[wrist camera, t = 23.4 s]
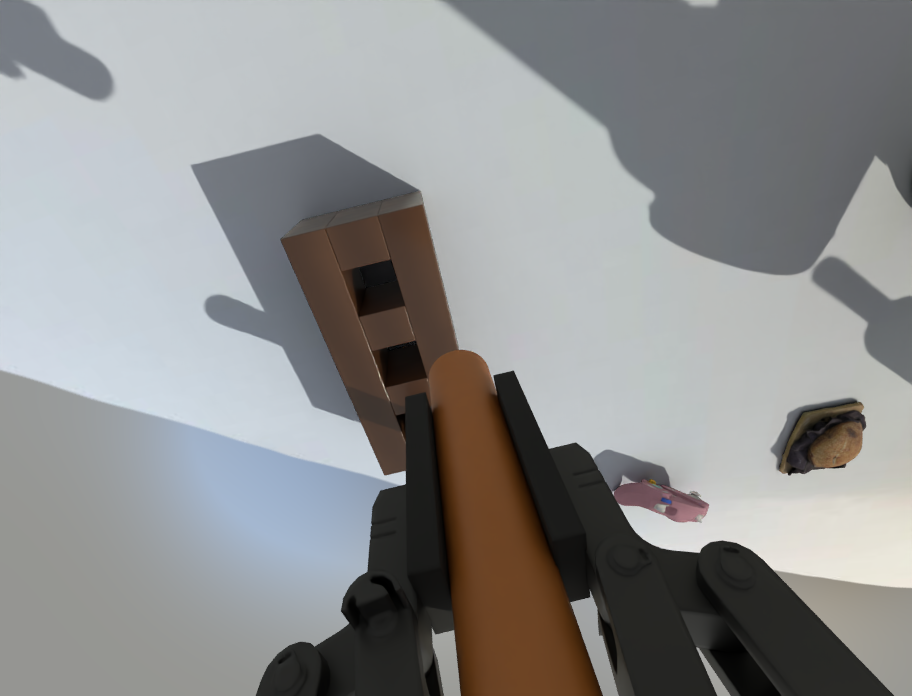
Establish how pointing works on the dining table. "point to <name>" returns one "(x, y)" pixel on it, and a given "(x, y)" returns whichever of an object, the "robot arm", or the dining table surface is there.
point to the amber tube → (498, 550)
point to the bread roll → (824, 439)
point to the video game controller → (663, 500)
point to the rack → (376, 309)
